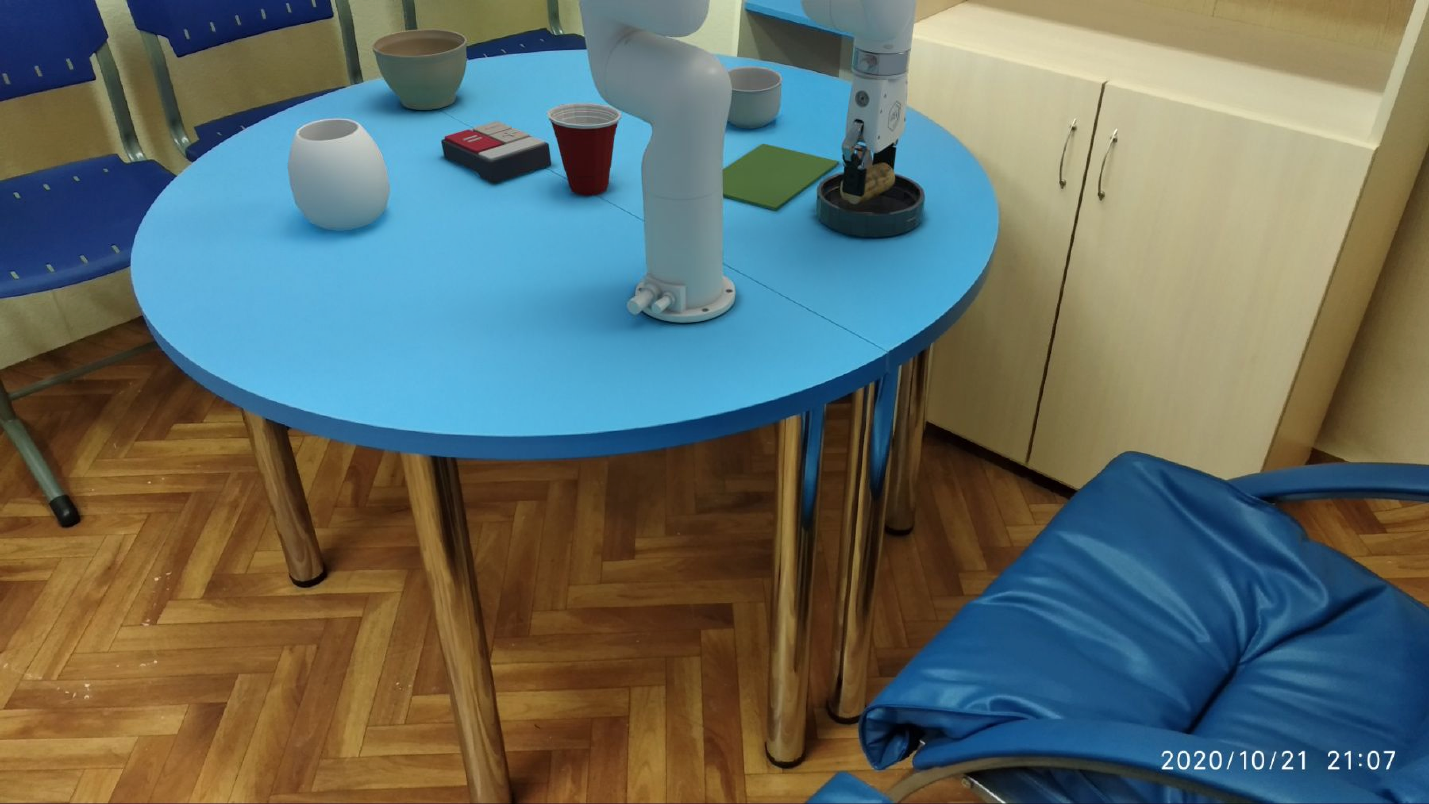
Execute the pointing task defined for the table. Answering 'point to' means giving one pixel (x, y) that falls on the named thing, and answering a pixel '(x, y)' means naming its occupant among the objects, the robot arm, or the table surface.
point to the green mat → (772, 176)
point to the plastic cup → (585, 144)
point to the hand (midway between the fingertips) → (868, 182)
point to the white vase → (337, 174)
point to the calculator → (496, 151)
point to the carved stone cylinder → (873, 183)
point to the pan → (871, 208)
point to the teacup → (754, 96)
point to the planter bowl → (422, 66)
